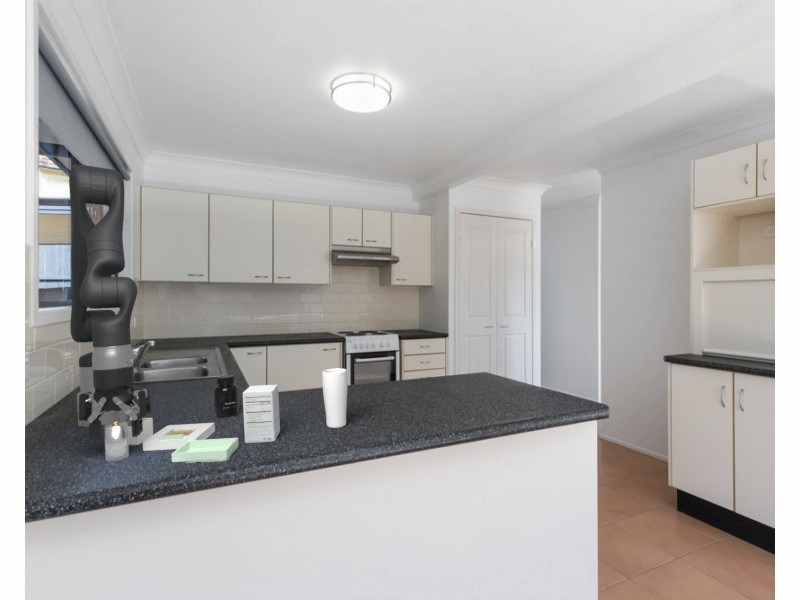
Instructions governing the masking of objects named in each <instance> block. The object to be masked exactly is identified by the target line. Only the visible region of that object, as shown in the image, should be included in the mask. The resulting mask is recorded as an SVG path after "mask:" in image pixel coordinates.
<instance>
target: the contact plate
mask: <svg viewBox="0 0 800 600" xmlns="http://www.w3.org/2000/svg"><path fill="white" fill-rule="evenodd" d="M193 431H195V430H181V431H174V432H172V433H171V434H169V435H177V434H184V436H187V435H190V434H191V433H192V432H193Z"/></svg>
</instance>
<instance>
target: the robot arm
mask: <svg viewBox="0 0 800 600" xmlns="http://www.w3.org/2000/svg"><path fill="white" fill-rule="evenodd" d="M68 177H69V179H68V184H69V185H68V186H69V201H70V213H71V230H72V231H71V248H70V249H71V254H70V258H71V259H70V263H71V264H70V265H71V267H70V268H71V281H72V282H71V283H72V295H71V296H72V298H71V309H70V310H71V312H70V324H69V325H70V329H69V331H70V336H71V338H72V340H73V341H74V342H76V343H80V344H81V343H82V344H83V343H92V351H90V352H88V353H85V354H83V355H81V356H79V358H78V371H79V373H78V374H79V389H80V390H79V392H77V394H76V405H77V425H78V427H84V428H88V427H89V436H90V437H91V439H92V440H98V439H100V438H101V437H102V434H103V433H102V425H103V426H104V425H106V424H109V423H112V422H113V421H120V411H121V410H123V411H124V412H125V413H126V414H128V415H129V416H130V417H131V418H132V419H133V421H131V424H132V437H137V436H139V435H140V433H141V432H142V431H143V426H142V425H143V424H142V418H146V417H147V416H148V415H150V414H151V413H152V404H151V403H152V402H151V395H150V390H149V388H143V389H137V390H136V389H135V387H134V384H135V376H134V375H135V374H134V355H133V350H132V349H133V348H132V345H131V340H132V339H131V320H132V315H133V310H134V306H135V304H136V300H137V296H138V286H137V284H136V282H135V281H134V279H133V278H131V277H128V276H114V275H116V274H119V273H121V272H123V271H124V269H125V267H126V258H125V251H124V243H123V241H124V239H123V233H124V232H123V231H124V229H123V228H124V219H125V217H124V216H125V182H124V178H123V176H122V174H121V172H120V171H118V170H115V169H111V168H106V167H99V166H92V165H86V164H77V163H76V164H73V165H72V166H71V168H70V170H69V176H68ZM87 204H88V205H89V204H91V205H101V206H109V208H108V210H107V212H106V214H105V215H104V216H103V217H102V218H101V219H100V220H99V221H98V223H95V222H94V221H93V219H92V217H91V216H90V213H89V211H88V208H87V206H86V205H87ZM117 308H118V309H119V311H118V313H115V311H114V310H112V309H117ZM89 309H91V310H89ZM135 398H136V400H138V403H136V402H135V400H134V399H135ZM129 406H130V407H129ZM138 406H139V408H140V409H139V408H138Z"/></svg>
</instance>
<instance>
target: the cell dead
mask: <svg viewBox="0 0 800 600" xmlns="http://www.w3.org/2000/svg"><path fill="white" fill-rule="evenodd" d="M129 407H130V406H129ZM138 408H139V405H138ZM139 409H140V408H139ZM119 421H127V422H128V426H132V424H131V421H133V419H132V418H131V417H130V416H129V415H128V414H126V413H125V412H124V411H123V410H121V411H120V419H119Z"/></svg>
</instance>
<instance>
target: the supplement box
mask: <svg viewBox="0 0 800 600" xmlns="http://www.w3.org/2000/svg"><path fill="white" fill-rule="evenodd" d="M242 408H243V409H242V411H243V427H244V428H243V429H244V431H243V432H244V443H245V444H252V443H253V444H254V443H256V444H257V443H268V442H275V441H276V440H277V438H278V435H279V434H280V432H281V420H280V419H281V418H280V403H279V384H262V385H261V384H260V385H249V386H248V387H247V388H246V389H245V390H244V391H243V392H242Z"/></svg>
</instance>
